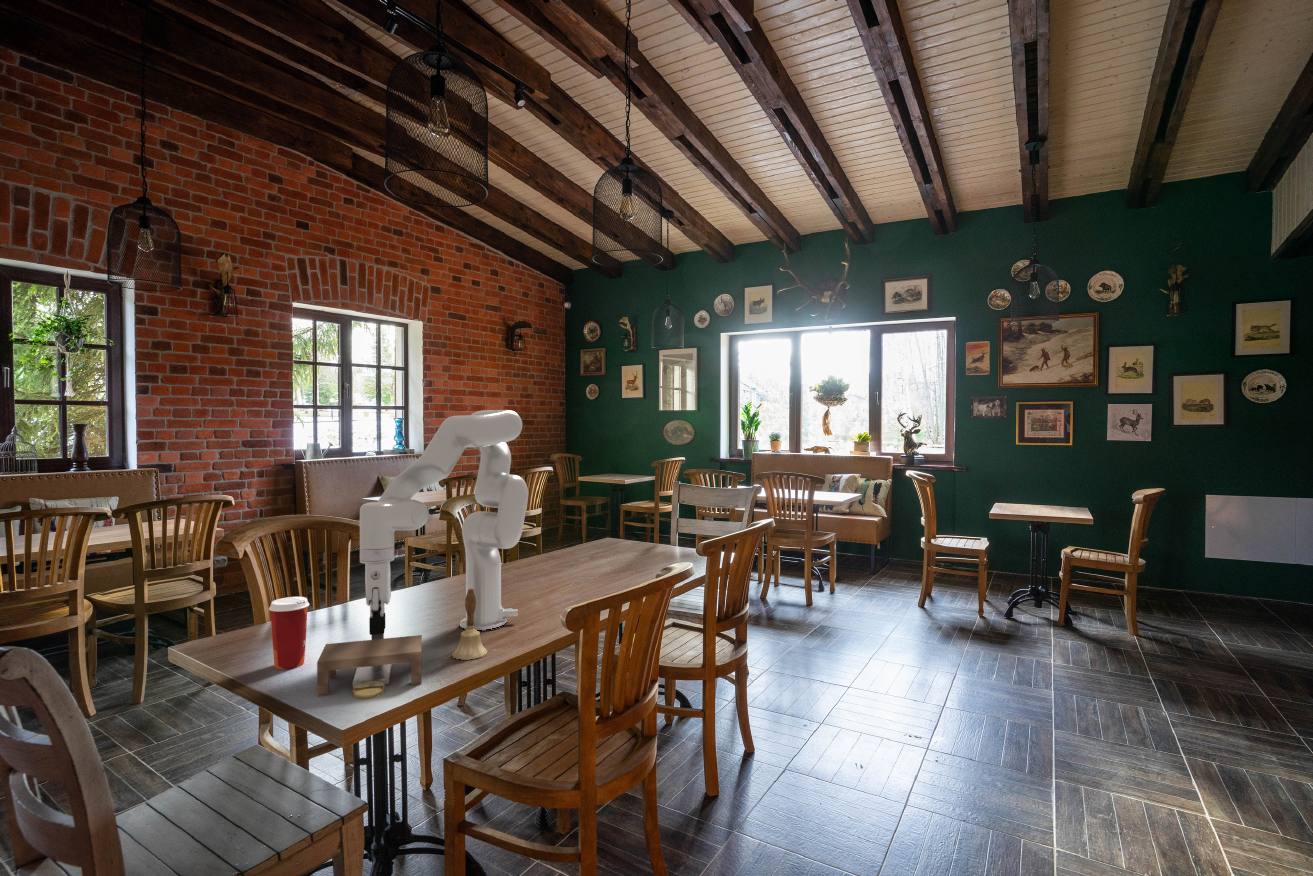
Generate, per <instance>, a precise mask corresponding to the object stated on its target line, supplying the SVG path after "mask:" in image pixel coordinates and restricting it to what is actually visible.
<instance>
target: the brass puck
mask: <svg viewBox="0 0 1313 876" xmlns="http://www.w3.org/2000/svg"><path fill="white" fill-rule="evenodd" d="M383 692H384V693H385V684H384V683H383V682H380V681H369V682H364V683H360V684H358V685H356V686H354V687H353V686H352V697H353V698H354V699H358V700H366V699H367V700H368V699H373V698H376V696H377V697H379V696H381V695H383V694H384V693H383ZM382 693H383V694H382ZM378 695H379V696H378Z"/></svg>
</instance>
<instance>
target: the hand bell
mask: <svg viewBox="0 0 1313 876" xmlns="http://www.w3.org/2000/svg"><path fill="white" fill-rule="evenodd" d="M464 606H465V613H466V612H467V629H464V630H463V631H462V632H461V633H460V638H459V642H458V645H457V648H456V649H455V650H454V651H453V652H452V655H451V656H452V658H453V659H455V658H456V659H455V660H458V659H461V660H460V661H471V660H470V659H474V660H476V659H475V658H479V657H480V656H483V655H484V654H486V653H487V652H488V650H487V648H485V647H484V646H483V643H482V640H481V639H482V638H481V633H480V632H481V631H477V630H475V629H474V612H475V608H476V596H475V593H474V589H468V592H467V595H466V594H465V601H464ZM479 659H480V658H479Z"/></svg>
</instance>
